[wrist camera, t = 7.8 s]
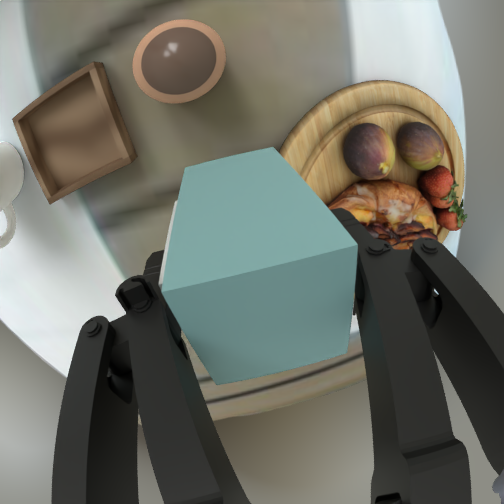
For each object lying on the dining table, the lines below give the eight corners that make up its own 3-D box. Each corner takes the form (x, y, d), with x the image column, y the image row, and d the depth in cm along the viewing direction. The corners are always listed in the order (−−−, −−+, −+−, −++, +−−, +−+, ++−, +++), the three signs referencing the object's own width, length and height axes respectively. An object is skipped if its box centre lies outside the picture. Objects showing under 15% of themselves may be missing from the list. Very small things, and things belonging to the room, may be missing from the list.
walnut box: (24, 114, 20) (12, 118, 18) (102, 62, 20) (93, 61, 18) (58, 195, 27) (49, 204, 25) (137, 156, 26) (131, 162, 24)
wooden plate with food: (322, 320, 46) (340, 358, 39) (206, 167, 28) (208, 197, 22) (463, 224, 40) (492, 249, 33) (424, 49, 22) (471, 52, 16)
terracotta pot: (142, 50, 20) (121, 40, 14) (210, 26, 20) (211, 8, 14) (162, 109, 24) (148, 117, 18) (230, 86, 24) (236, 86, 18)
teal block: (185, 167, 15) (161, 291, 7) (273, 147, 15) (357, 244, 7) (208, 242, 18) (217, 386, 10) (285, 223, 18) (346, 354, 10)
